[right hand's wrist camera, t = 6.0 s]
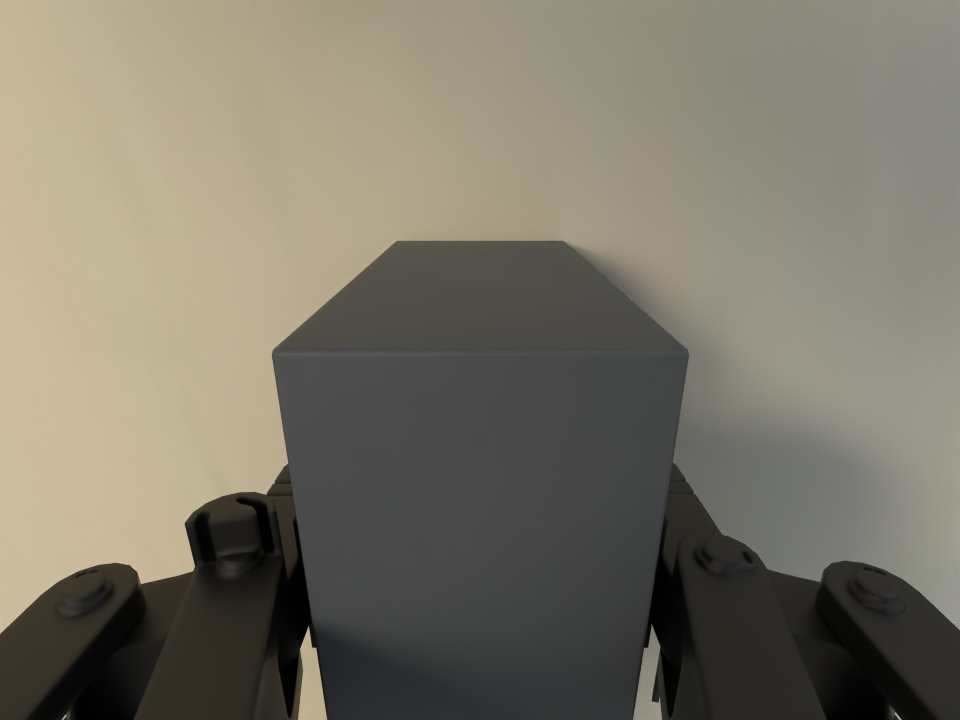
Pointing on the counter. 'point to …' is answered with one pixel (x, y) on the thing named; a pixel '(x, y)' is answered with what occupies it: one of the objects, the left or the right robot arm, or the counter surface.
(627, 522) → the bar
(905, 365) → the counter surface
